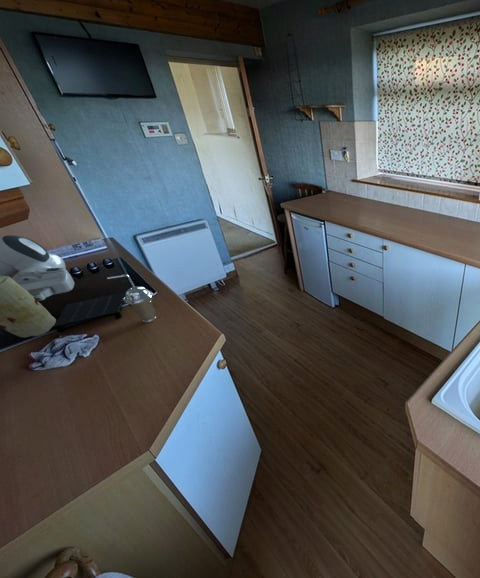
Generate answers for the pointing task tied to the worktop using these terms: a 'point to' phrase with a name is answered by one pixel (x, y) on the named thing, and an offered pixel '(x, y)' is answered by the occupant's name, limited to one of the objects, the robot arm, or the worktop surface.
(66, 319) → the low black rectangular block
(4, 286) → the food model
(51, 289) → the robot arm
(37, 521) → the worktop surface
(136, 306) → the cup with straw
